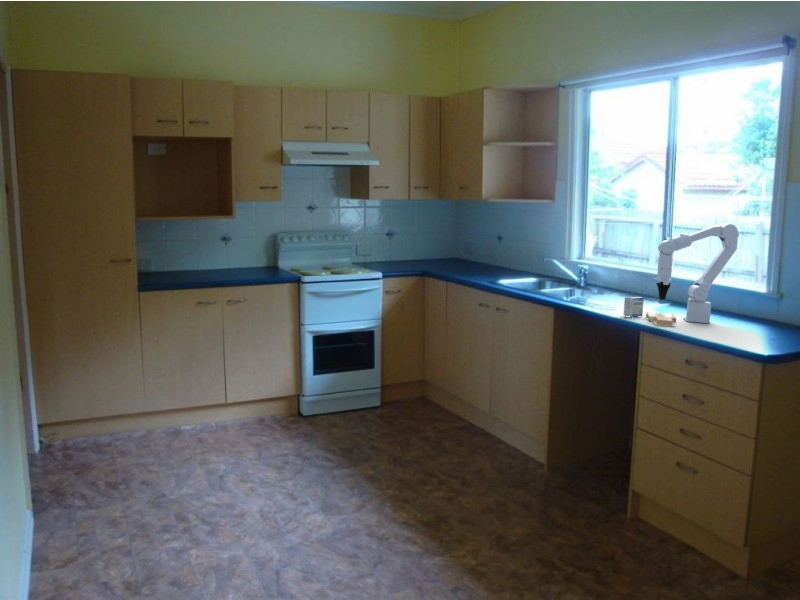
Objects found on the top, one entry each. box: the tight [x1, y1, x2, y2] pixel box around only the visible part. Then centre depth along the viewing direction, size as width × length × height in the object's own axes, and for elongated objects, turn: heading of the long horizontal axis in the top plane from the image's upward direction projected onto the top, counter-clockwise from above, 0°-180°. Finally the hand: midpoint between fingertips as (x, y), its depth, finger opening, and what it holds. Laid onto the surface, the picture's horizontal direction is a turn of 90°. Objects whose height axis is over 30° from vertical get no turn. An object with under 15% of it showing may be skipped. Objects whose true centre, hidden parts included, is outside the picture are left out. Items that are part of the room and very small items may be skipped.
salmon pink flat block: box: [655, 316, 674, 327], centre depth 307 cm, size 6×9×2 cm, turn 167°
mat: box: [652, 321, 676, 328], centre depth 307 cm, size 8×10×1 cm
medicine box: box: [623, 296, 645, 318], centre depth 322 cm, size 8×4×9 cm, turn 126°
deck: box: [645, 311, 677, 324], centre depth 317 cm, size 11×11×2 cm
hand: (662, 299), depth 318 cm, fingers closed
